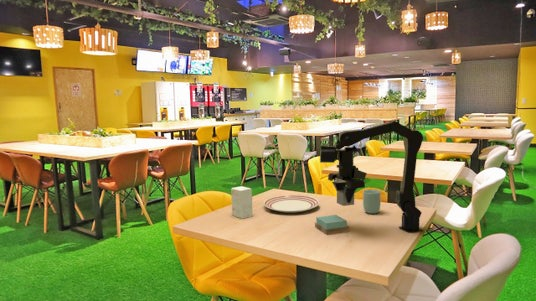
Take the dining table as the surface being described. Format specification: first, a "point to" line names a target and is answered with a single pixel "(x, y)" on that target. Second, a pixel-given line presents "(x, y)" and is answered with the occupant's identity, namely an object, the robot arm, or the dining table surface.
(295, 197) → the dinner plate
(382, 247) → the dining table surface
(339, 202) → the grey cube
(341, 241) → the dining table surface
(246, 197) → the small box
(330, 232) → the tower bottom
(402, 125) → the robot arm
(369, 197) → the cup
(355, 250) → the dining table surface
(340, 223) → the tower top
